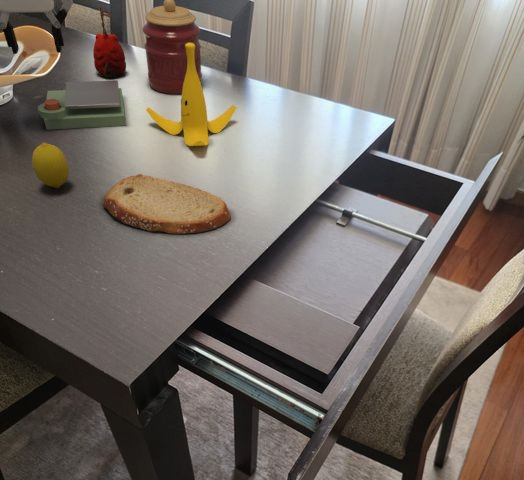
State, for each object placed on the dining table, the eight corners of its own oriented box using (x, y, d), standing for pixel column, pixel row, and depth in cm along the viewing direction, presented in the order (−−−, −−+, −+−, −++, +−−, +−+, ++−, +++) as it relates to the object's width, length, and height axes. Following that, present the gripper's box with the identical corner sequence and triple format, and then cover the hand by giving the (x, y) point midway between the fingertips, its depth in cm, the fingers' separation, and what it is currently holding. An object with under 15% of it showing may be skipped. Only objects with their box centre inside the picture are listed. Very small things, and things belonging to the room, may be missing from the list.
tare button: (45, 111, 99) (43, 104, 98) (46, 106, 100) (44, 99, 99) (60, 111, 99) (58, 104, 98) (60, 105, 101) (58, 98, 100)
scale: (42, 130, 100) (36, 113, 97) (46, 100, 110) (41, 84, 107) (126, 126, 103) (123, 109, 100) (122, 97, 113) (120, 81, 110)
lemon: (61, 199, 83) (48, 153, 77) (33, 191, 84) (18, 146, 78) (79, 183, 87) (68, 139, 81) (53, 177, 88) (40, 132, 82)
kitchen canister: (184, 99, 114) (178, 10, 101) (138, 87, 117) (126, -1, 104) (211, 81, 122) (209, -4, 109) (167, 71, 125) (160, -13, 112)
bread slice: (238, 222, 81) (238, 202, 78) (136, 253, 74) (133, 233, 71) (190, 174, 91) (188, 154, 88) (96, 197, 84) (91, 177, 81)
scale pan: (65, 109, 99) (64, 106, 98) (67, 84, 107) (66, 82, 107) (120, 106, 101) (120, 103, 101) (118, 83, 109) (117, 80, 109)
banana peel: (199, 159, 95) (194, 65, 82) (146, 124, 104) (134, 34, 91) (262, 137, 102) (267, 47, 90) (208, 106, 112) (205, 21, 99)
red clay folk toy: (128, 69, 124) (117, -1, 113) (126, 80, 120) (116, 7, 109) (97, 69, 123) (84, -2, 112) (94, 80, 119) (80, 7, 108)
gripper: (62, -75, 83) (85, 43, 96) (-49, -78, 79) (-9, 45, 93) (61, -67, 78) (85, 56, 91) (-58, -70, 75) (-15, 59, 88)
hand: (37, 50), depth 92 cm, fingers open, 7 cm apart
